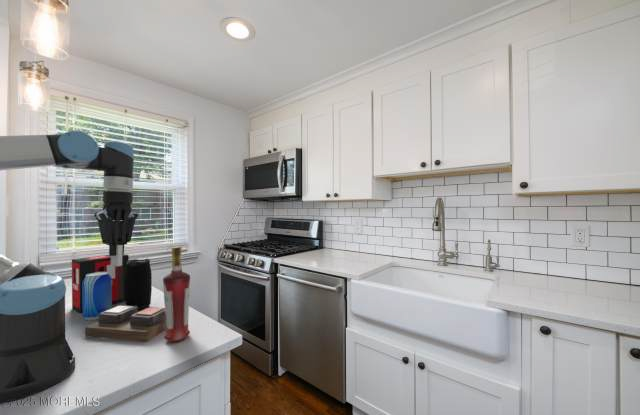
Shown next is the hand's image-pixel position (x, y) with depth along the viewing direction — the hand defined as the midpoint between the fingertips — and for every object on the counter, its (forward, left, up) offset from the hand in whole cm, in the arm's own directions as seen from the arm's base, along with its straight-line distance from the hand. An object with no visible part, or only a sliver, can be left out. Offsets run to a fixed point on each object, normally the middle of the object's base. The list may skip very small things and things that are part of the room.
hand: (116, 265), depth 84 cm
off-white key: (+5, +5, -18) cm, 19 cm away
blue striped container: (+12, +22, -22) cm, 33 cm away
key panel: (+5, -1, -22) cm, 23 cm away
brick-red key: (+5, -8, -18) cm, 20 cm away
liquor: (+1, -21, -22) cm, 30 cm away
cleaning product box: (+23, +33, -22) cm, 46 cm away
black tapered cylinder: (+21, +13, -22) cm, 33 cm away
